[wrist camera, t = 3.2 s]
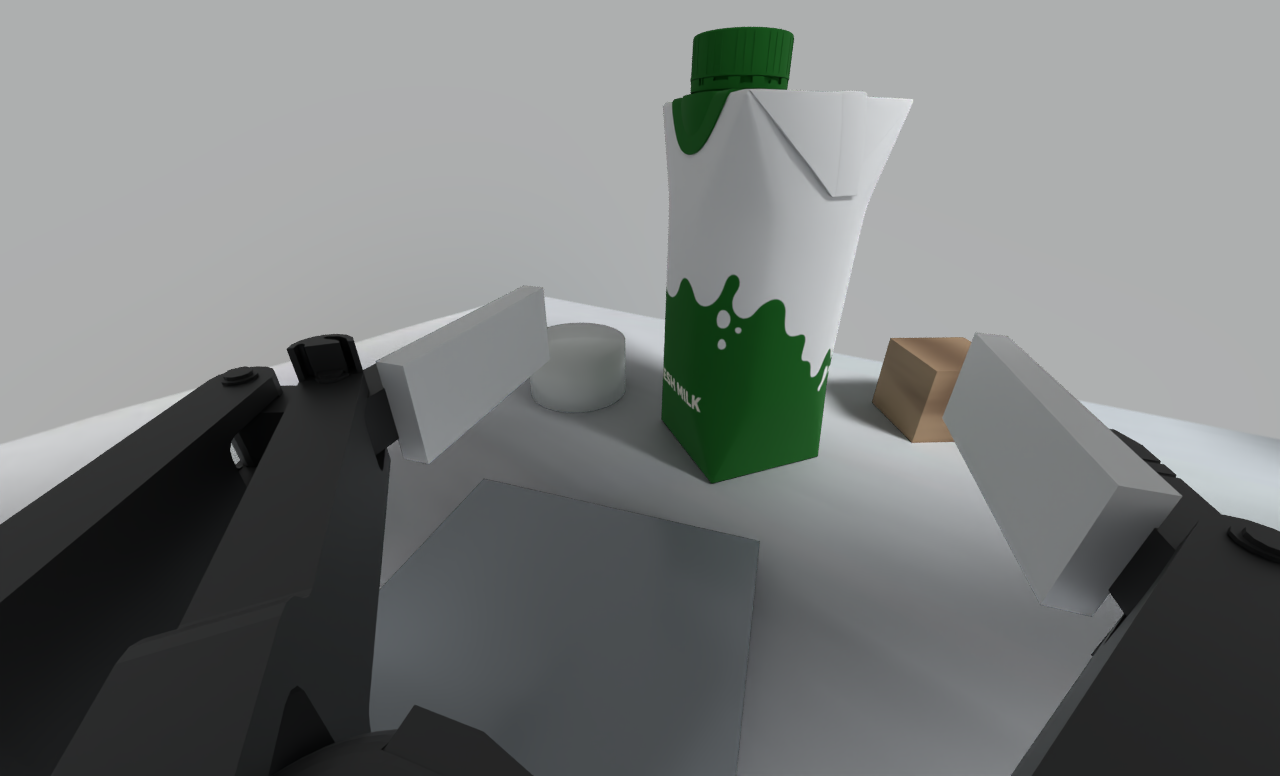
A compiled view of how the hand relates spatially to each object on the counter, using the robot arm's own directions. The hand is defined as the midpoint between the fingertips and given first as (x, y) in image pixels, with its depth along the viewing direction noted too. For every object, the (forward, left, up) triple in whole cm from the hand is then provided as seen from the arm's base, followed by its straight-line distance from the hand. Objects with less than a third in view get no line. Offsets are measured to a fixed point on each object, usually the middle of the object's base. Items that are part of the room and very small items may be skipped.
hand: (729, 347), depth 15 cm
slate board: (+5, +5, -10) cm, 13 cm away
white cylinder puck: (+12, -14, -11) cm, 21 cm away
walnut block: (-12, -17, -11) cm, 23 cm away
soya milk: (0, -11, -11) cm, 15 cm away
